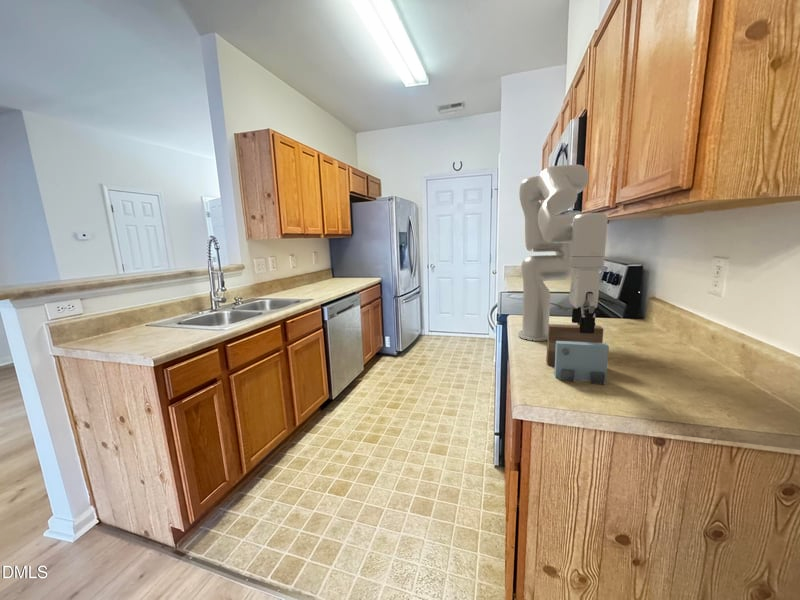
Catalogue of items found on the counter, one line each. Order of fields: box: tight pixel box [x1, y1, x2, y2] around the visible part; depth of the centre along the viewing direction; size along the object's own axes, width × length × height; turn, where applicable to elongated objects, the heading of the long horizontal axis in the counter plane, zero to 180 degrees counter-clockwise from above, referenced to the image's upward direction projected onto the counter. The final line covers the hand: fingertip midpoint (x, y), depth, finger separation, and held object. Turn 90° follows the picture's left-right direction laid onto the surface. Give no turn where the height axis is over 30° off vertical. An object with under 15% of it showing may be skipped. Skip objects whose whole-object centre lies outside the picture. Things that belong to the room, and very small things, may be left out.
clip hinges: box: [560, 369, 605, 386], centre depth 89 cm, size 12×10×3 cm
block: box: [553, 341, 610, 384], centre depth 86 cm, size 4×12×10 cm, turn 72°
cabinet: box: [545, 323, 604, 367], centre depth 96 cm, size 4×14×12 cm, turn 72°
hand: (582, 327), depth 85 cm, fingers open, 9 cm apart
